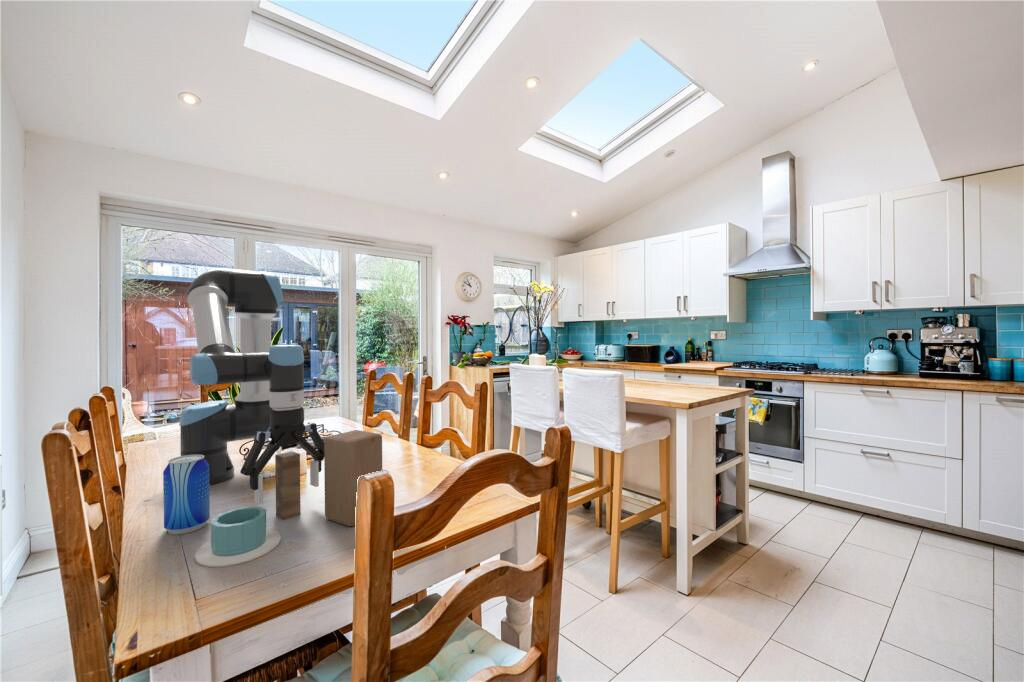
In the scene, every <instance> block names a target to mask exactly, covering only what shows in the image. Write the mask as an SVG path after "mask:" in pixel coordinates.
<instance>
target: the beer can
mask: <svg viewBox="0 0 1024 682" xmlns="http://www.w3.org/2000/svg"><path fill="white" fill-rule="evenodd" d="M162 474H163V475H162V477H163V479H162V480H163V481H162V483H163V489H162V491H163V528H164V529H165V530H166V531H167V532H168V534H171V535H182V534H183V535H184V534H188V533H192V532H195V531H197V530H198V531H199V530H201V529H202V528H204V527H206V525H207V523H208V522H209V520H210V519H211V518H210V517H211V514H210V513H211V508H210V507H211V506H210V502H211V501H210V496H211V495H210V491H211V490H210V485H209V464H208V463H207V461H206V460H205V459H204V455H185V456H181V455H180V456H176V457H173V458H170V459H169V460H168V462H167V465H166V467H165V468H164V469H163V472H162Z"/></svg>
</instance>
